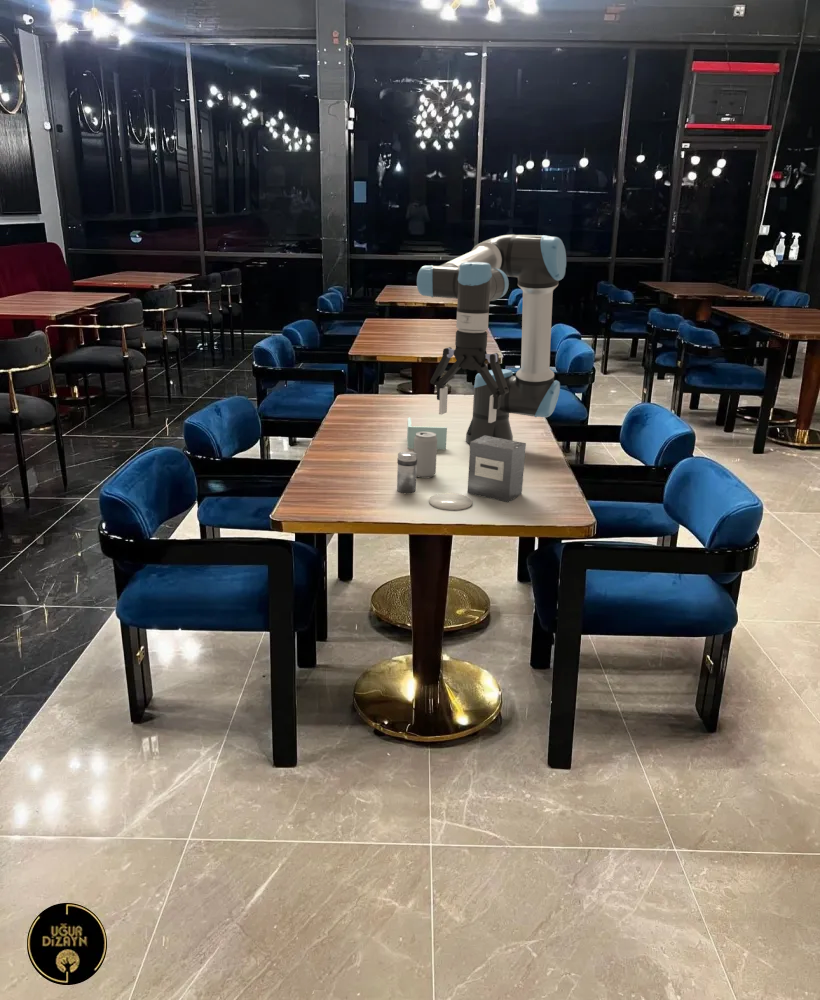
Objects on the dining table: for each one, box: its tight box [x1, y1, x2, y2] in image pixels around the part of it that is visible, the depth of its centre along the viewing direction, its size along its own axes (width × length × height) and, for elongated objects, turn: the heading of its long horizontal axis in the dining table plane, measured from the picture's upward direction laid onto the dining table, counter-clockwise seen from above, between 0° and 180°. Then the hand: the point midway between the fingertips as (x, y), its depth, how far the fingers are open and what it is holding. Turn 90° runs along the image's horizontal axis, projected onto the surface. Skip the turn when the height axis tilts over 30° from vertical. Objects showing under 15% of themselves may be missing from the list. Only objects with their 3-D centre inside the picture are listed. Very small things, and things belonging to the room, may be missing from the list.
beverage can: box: [413, 431, 438, 479], centre depth 217 cm, size 6×6×12 cm
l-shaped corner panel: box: [406, 417, 448, 450], centre depth 248 cm, size 12×12×8 cm
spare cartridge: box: [396, 451, 417, 495], centre depth 205 cm, size 5×5×10 cm
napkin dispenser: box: [466, 435, 527, 503], centre depth 203 cm, size 8×12×14 cm
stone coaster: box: [428, 492, 473, 511], centre depth 199 cm, size 11×11×1 cm
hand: (467, 417), depth 192 cm, fingers open, 13 cm apart
